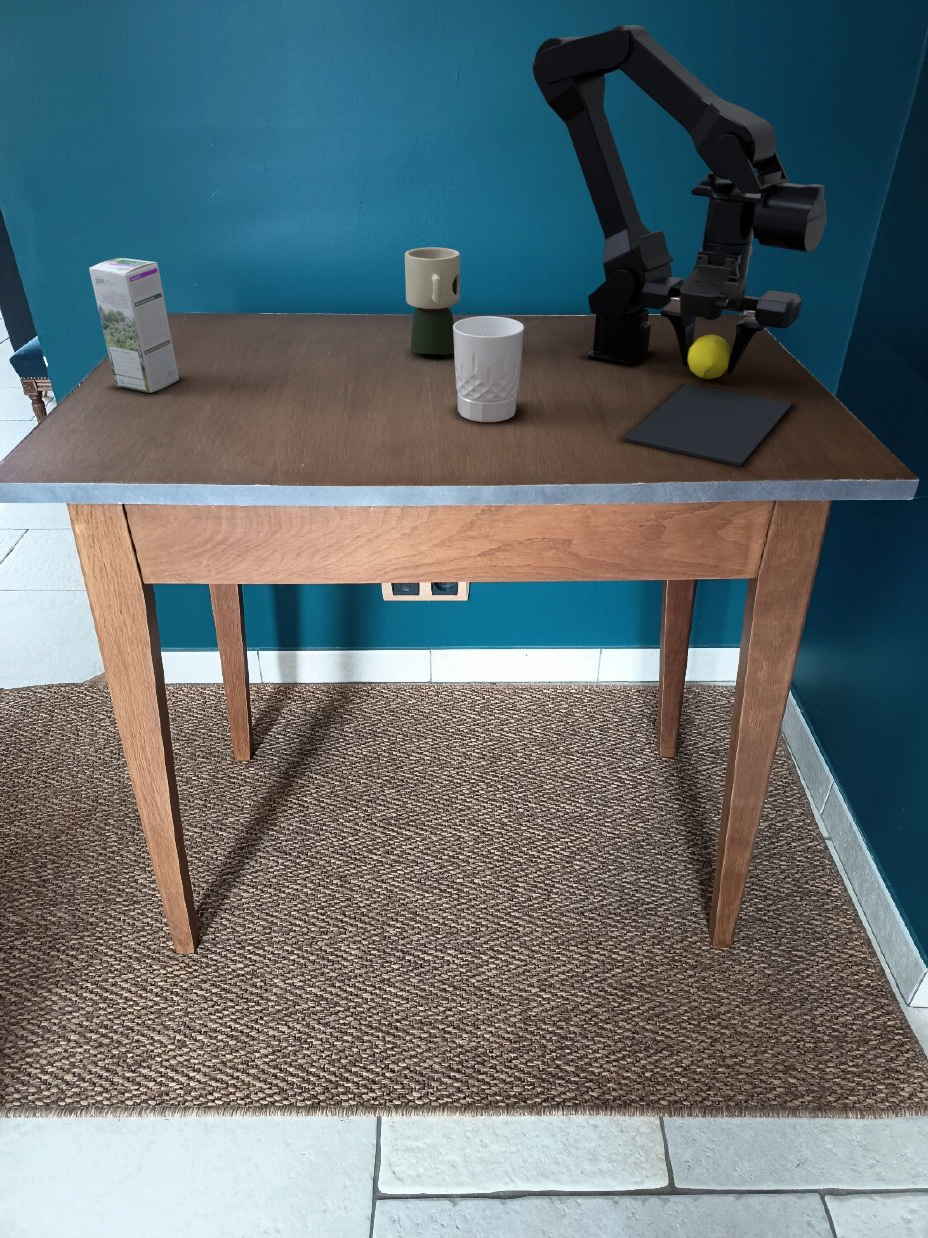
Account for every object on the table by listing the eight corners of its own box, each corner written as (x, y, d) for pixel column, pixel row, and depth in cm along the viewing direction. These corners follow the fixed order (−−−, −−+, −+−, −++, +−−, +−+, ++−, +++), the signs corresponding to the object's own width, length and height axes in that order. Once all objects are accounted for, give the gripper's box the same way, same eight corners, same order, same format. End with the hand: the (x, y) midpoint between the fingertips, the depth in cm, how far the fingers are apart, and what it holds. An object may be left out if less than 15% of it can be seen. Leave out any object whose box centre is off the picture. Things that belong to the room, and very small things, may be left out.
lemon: (730, 387, 114) (737, 344, 111) (685, 385, 115) (691, 342, 112) (725, 369, 120) (732, 327, 117) (683, 367, 121) (689, 325, 118)
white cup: (473, 429, 103) (473, 340, 98) (441, 406, 109) (440, 321, 103) (533, 417, 106) (537, 330, 101) (499, 395, 112) (502, 312, 106)
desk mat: (623, 440, 101) (624, 437, 100) (686, 386, 115) (687, 383, 115) (740, 466, 95) (741, 463, 95) (791, 406, 109) (792, 403, 109)
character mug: (465, 364, 121) (465, 261, 114) (411, 367, 121) (408, 263, 113) (454, 339, 130) (454, 242, 123) (404, 341, 130) (401, 244, 122)
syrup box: (181, 379, 116) (160, 259, 108) (149, 395, 112) (125, 271, 104) (145, 373, 118) (122, 255, 110) (113, 388, 114) (86, 265, 106)
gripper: (626, 243, 107) (614, 375, 115) (789, 263, 99) (762, 403, 107) (661, 226, 115) (647, 351, 123) (814, 243, 107) (787, 375, 115)
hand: (707, 369), depth 117 cm, fingers closed on lemon, 5 cm apart
